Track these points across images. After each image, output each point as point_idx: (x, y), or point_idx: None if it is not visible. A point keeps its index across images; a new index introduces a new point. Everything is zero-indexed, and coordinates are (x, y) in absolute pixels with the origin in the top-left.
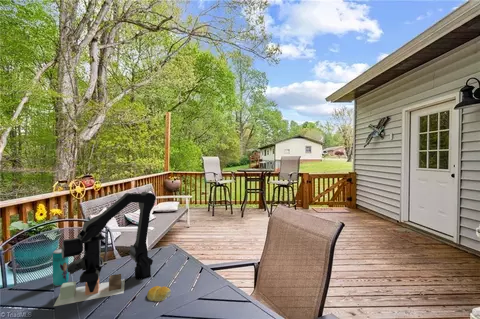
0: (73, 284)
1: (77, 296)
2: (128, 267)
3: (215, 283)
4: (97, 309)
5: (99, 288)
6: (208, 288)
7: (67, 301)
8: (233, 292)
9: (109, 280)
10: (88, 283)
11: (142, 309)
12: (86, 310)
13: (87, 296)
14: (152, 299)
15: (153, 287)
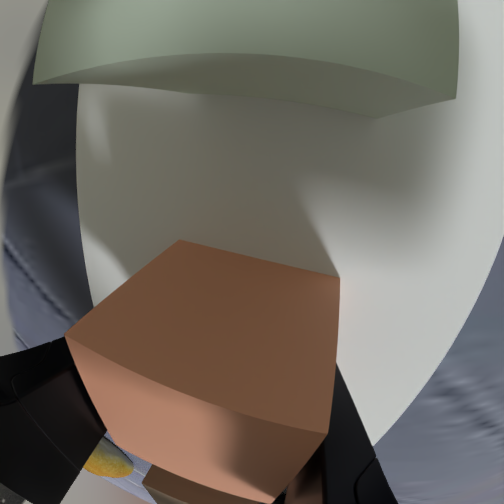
0: (125, 32)
1: (189, 141)
2: (483, 481)
3: (149, 499)
4: (24, 280)
5: None
6: (129, 486)
7: None
8: (107, 480)
9: (143, 481)
10: (18, 367)
11: None
12: (18, 227)
13: (142, 257)
14: None
15: (93, 467)
